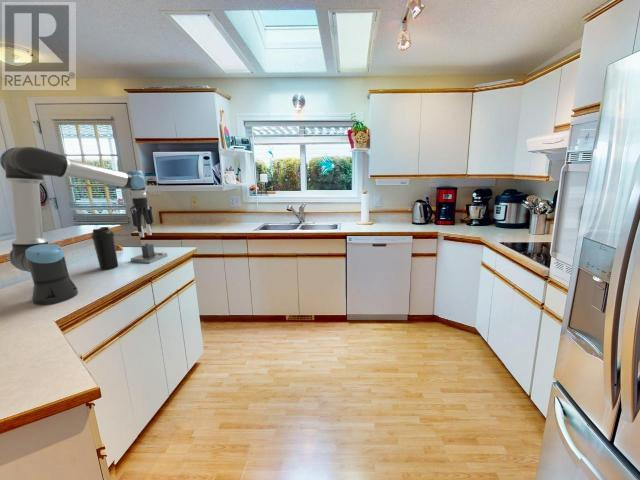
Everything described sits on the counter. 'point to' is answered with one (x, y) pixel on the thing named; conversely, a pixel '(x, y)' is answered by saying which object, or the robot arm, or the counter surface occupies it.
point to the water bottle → (105, 248)
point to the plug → (148, 250)
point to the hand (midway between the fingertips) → (145, 235)
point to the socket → (149, 260)
